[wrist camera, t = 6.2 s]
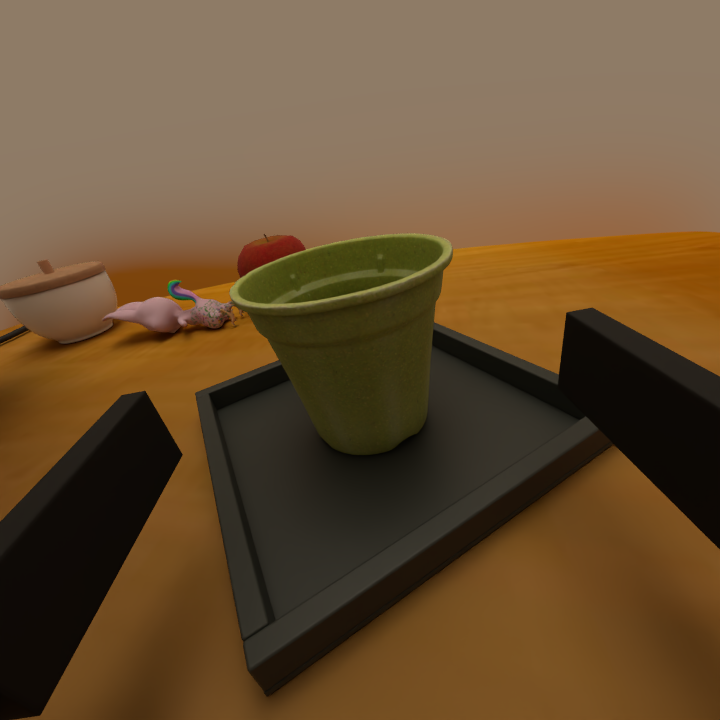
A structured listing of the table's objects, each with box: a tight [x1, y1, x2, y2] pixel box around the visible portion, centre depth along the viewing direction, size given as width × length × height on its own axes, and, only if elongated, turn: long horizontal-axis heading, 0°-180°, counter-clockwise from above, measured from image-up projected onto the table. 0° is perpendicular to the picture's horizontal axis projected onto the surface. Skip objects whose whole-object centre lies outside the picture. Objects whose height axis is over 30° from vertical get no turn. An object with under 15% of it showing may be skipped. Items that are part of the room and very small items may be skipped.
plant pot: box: [230, 234, 453, 455], centre depth 17 cm, size 9×9×9 cm
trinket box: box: [0, 260, 117, 344], centre depth 42 cm, size 11×11×9 cm
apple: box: [238, 234, 306, 278], centre depth 39 cm, size 8×8×8 cm
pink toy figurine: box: [102, 280, 244, 333], centre depth 37 cm, size 6×6×15 cm
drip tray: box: [195, 322, 613, 696], centre depth 19 cm, size 17×17×2 cm
